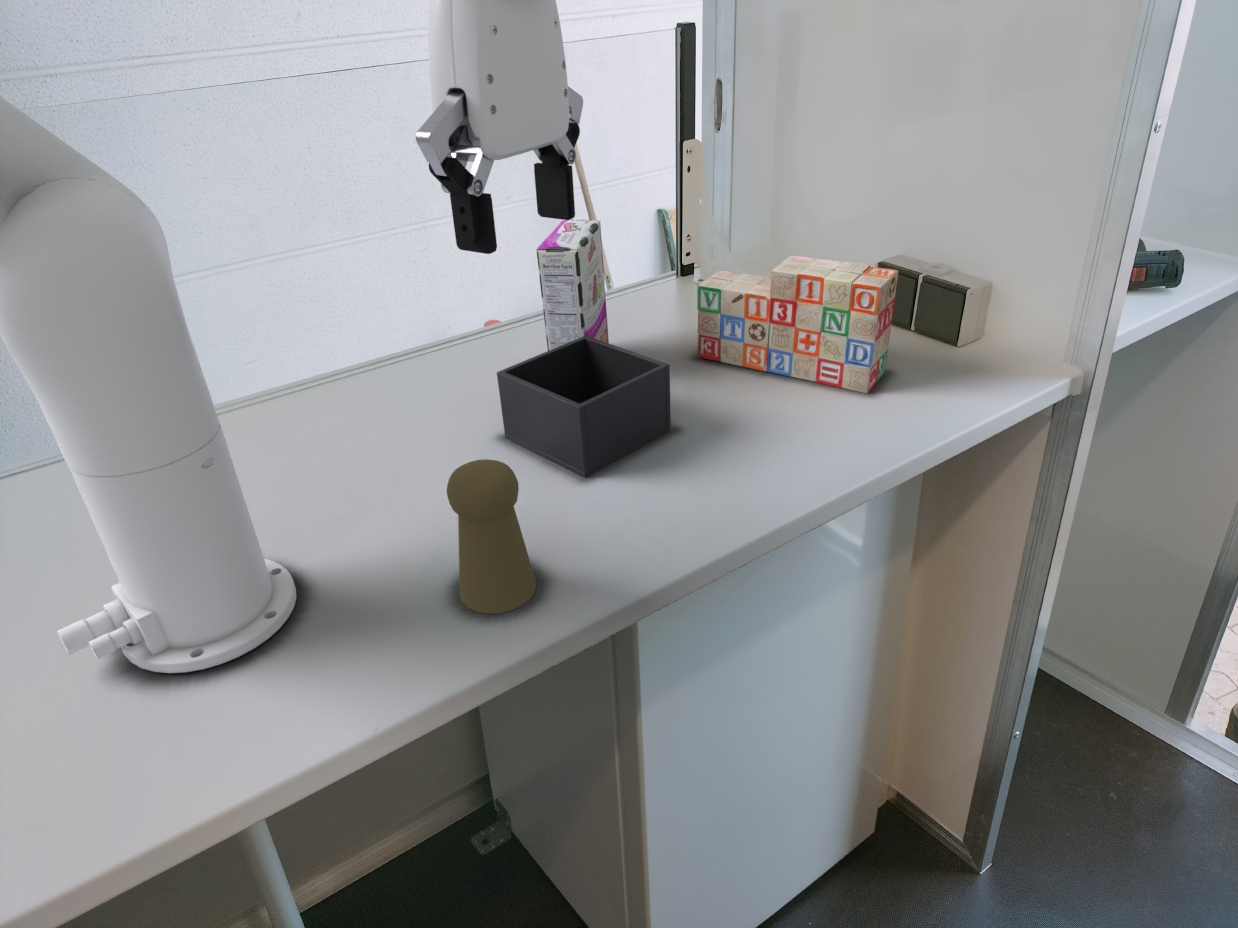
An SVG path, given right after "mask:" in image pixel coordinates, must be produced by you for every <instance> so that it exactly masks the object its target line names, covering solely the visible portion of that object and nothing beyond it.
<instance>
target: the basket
mask: <svg viewBox="0 0 1238 928" xmlns="http://www.w3.org/2000/svg"><path fill="white" fill-rule="evenodd" d="M670 369H671V366H670V364H669V363H666V362H663V361H661V360H657V359H654V358H652V357H649V356H646V355H643V354H640V353H637V352H634V351H632V350H629V349H626V348H623V347H620V346H617V345H614V344H612V343H606V342H603V341H600V340H597V339H594V338H591V337H588V336H583V337H581V338H578V339H576V340H574V341H571V342H569V343H566V344H564V345H561V346H559V347H557V348H554V349H552V350H549V351H548V350H547V351H545V352H542V353H540V354H537V355H535V356H532V357H530V358H528V359H526V360H523V361H520V362H518V363H515V364H513V365H511V366H509V367H506V368H504V369H501V370H499V371H497V372H496V378H497V386H498V392H499V393H498V394H499V402H500V409H501V416H502V422H503V429H504V438H505V439H506V440H509V442H512V443H514V444H516V445H519V446H520V447H523V448H525V449H527V450H528V451H531V452H533V453H535V454H537V455H539V456H540V457H543V458H544V459H546V460H548V461H551V462H552V463H554V464H556V465H558V466H560V467H563V468H565V469H567V470H569V471H571V472H573V473H575V474H576V475H579V476H580V477H582V478H584V479H585V478H588V477H590V476H591V475H593V474H595V473H597V472H598V471H601V470H602V469H605V468H606V467H608V466H610V465H612V464H613V463H616V462H617V461H618V460H620V459H622V458H625V457H626V456H629V455H630V454H631V453H633V452H635V451H637V450H638V449H640V448H643V447H644V446H646V445H648V444H650V443H652V442H653V441H655V440H657V439H659V438H660V437H662V436H664V435H666V434H668V433H670V432H671V431H672V428H671V426H672V423H671V421H672V420H671V419H672V418H671V370H670Z"/></svg>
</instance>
